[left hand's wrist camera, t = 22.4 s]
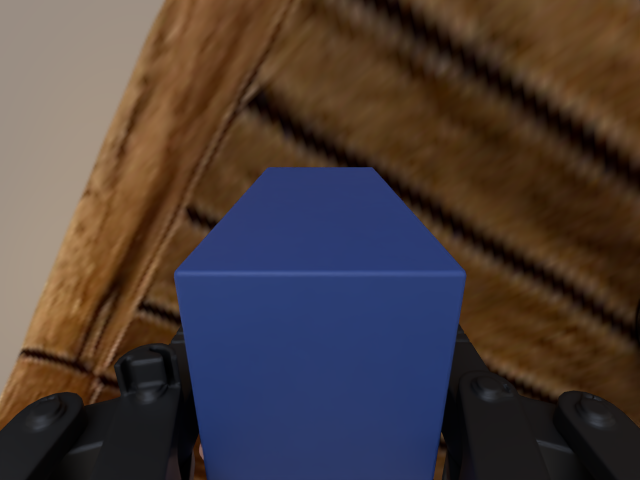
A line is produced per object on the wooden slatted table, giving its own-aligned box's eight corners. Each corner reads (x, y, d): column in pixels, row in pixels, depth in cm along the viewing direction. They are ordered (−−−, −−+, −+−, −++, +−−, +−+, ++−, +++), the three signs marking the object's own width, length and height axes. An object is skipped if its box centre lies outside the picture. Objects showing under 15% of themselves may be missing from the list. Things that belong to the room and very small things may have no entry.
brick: (267, 167, 15) (171, 271, 5) (373, 167, 15) (469, 272, 5) (275, 335, 18) (224, 597, 9) (364, 335, 18) (415, 597, 9)
